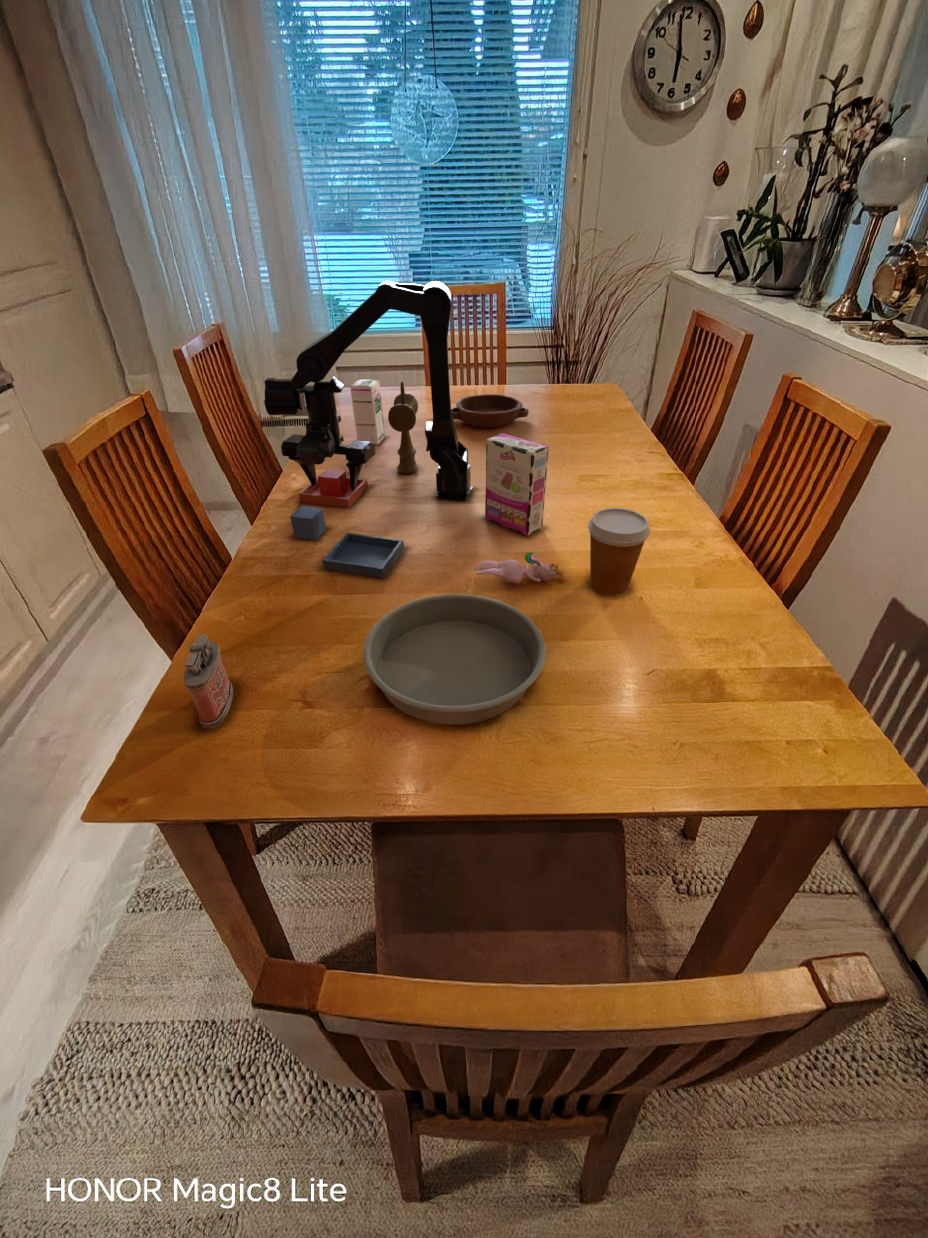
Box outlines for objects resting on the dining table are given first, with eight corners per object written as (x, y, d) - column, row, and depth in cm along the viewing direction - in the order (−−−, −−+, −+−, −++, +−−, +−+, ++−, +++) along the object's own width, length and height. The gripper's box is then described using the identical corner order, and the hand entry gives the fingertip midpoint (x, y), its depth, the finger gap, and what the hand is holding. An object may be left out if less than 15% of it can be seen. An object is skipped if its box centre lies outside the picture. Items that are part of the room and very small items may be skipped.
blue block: (326, 529, 115) (322, 508, 112) (315, 540, 111) (311, 519, 109) (305, 526, 116) (301, 505, 113) (294, 537, 112) (289, 516, 110)
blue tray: (404, 549, 108) (403, 539, 107) (383, 578, 101) (382, 568, 100) (348, 541, 111) (347, 532, 110) (323, 569, 103) (322, 559, 102)
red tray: (368, 487, 130) (367, 479, 129) (348, 507, 122) (347, 499, 121) (322, 482, 132) (320, 474, 131) (300, 501, 125) (298, 493, 123)
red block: (348, 489, 128) (346, 470, 125) (339, 498, 125) (336, 478, 122) (329, 487, 129) (326, 468, 126) (320, 496, 126) (317, 476, 123)
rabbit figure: (551, 573, 104) (469, 570, 100) (560, 544, 100) (475, 539, 97) (562, 593, 99) (476, 590, 95) (571, 563, 96) (482, 559, 92)
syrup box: (378, 445, 150) (372, 386, 141) (356, 443, 151) (349, 385, 142) (385, 437, 154) (380, 379, 146) (364, 435, 155) (357, 378, 147)
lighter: (212, 685, 80) (190, 627, 74) (237, 683, 80) (218, 625, 74) (195, 729, 74) (170, 670, 68) (223, 727, 74) (201, 668, 68)
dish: (532, 431, 157) (533, 412, 154) (449, 432, 157) (449, 414, 154) (524, 410, 171) (525, 392, 168) (448, 411, 171) (448, 393, 167)
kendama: (393, 479, 133) (384, 388, 121) (397, 462, 141) (390, 375, 129) (419, 479, 133) (414, 387, 121) (422, 462, 141) (417, 375, 129)
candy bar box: (543, 528, 114) (550, 445, 105) (527, 537, 112) (533, 453, 102) (499, 510, 121) (502, 431, 111) (483, 518, 118) (484, 438, 108)
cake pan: (573, 711, 76) (577, 686, 73) (384, 755, 70) (380, 729, 67) (508, 604, 94) (509, 580, 92) (354, 632, 89) (351, 608, 86)
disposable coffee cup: (604, 607, 94) (615, 541, 86) (569, 578, 100) (576, 514, 93) (650, 591, 97) (665, 526, 90) (613, 564, 104) (624, 501, 96)
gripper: (259, 423, 113) (275, 498, 122) (348, 432, 109) (358, 509, 118) (288, 405, 121) (301, 477, 131) (372, 413, 117) (379, 486, 126)
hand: (333, 487), depth 126 cm, fingers open, 9 cm apart
